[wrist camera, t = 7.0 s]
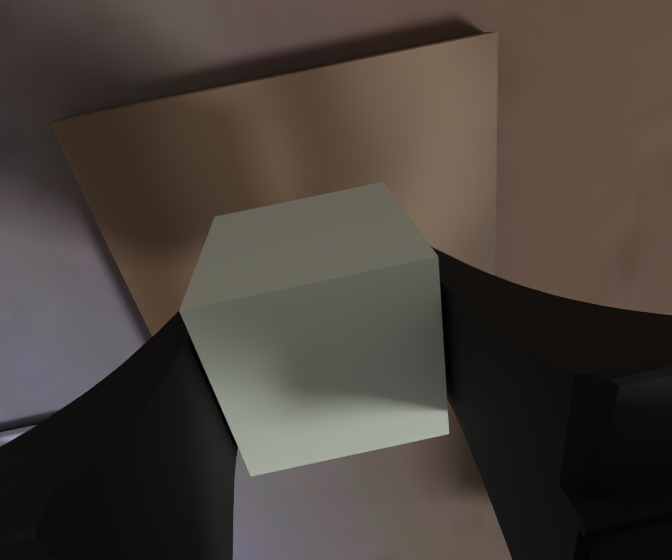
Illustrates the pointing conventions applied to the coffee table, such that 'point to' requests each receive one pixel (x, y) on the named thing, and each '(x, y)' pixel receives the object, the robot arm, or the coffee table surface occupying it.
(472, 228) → the walnut board
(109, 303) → the coffee table surface
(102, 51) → the coffee table surface
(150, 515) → the robot arm
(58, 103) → the coffee table surface
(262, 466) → the sage cube
